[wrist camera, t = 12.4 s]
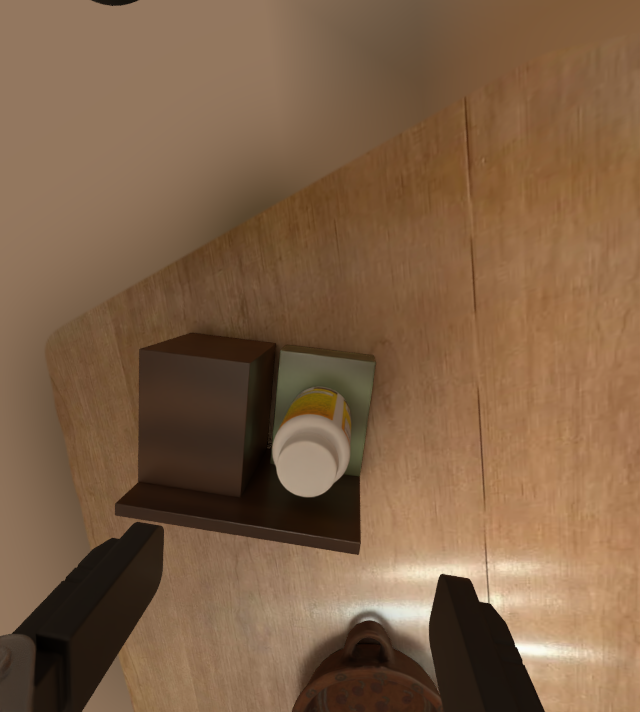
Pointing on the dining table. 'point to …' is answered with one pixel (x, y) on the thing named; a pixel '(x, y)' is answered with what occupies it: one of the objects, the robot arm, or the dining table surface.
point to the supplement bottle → (313, 442)
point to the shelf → (241, 440)
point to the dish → (369, 679)
